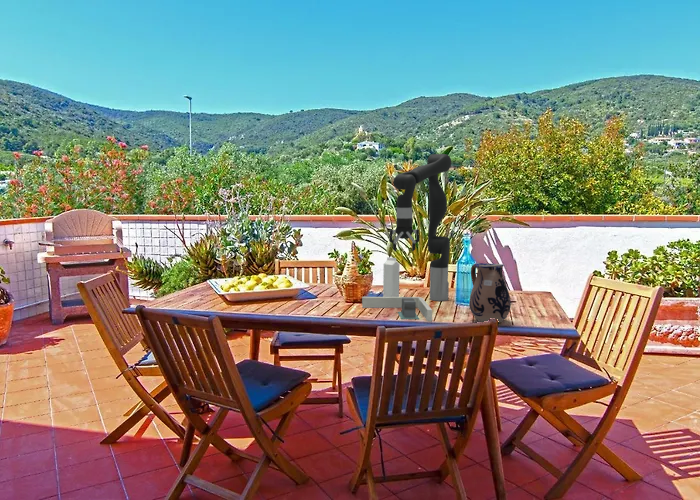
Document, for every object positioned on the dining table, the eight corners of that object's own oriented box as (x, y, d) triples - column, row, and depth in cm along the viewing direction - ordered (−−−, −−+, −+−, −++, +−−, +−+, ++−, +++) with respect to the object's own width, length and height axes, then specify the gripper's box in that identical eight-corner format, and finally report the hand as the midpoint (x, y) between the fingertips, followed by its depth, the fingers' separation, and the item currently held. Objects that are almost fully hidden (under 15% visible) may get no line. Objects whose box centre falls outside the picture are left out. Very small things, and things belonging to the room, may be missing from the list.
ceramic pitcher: (492, 328, 227) (494, 268, 224) (454, 318, 244) (455, 263, 241) (518, 322, 237) (520, 265, 235) (480, 314, 254) (482, 260, 252)
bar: (415, 317, 244) (415, 302, 244) (404, 317, 244) (404, 302, 244) (412, 312, 255) (412, 297, 255) (401, 312, 255) (401, 297, 254)
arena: (421, 306, 269) (421, 296, 268) (431, 321, 239) (432, 309, 238) (362, 306, 268) (362, 296, 268) (365, 321, 238) (365, 309, 238)
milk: (392, 301, 283) (392, 258, 281) (382, 299, 287) (383, 257, 285) (399, 299, 288) (399, 257, 285) (390, 297, 292) (390, 256, 289)
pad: (414, 312, 257) (414, 311, 257) (419, 319, 243) (419, 318, 243) (397, 312, 257) (397, 311, 257) (401, 319, 243) (401, 318, 243)
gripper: (390, 217, 255) (390, 252, 257) (420, 217, 256) (420, 252, 258) (388, 216, 262) (388, 250, 265) (418, 216, 263) (417, 250, 265)
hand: (404, 251), depth 261 cm, fingers open, 8 cm apart
